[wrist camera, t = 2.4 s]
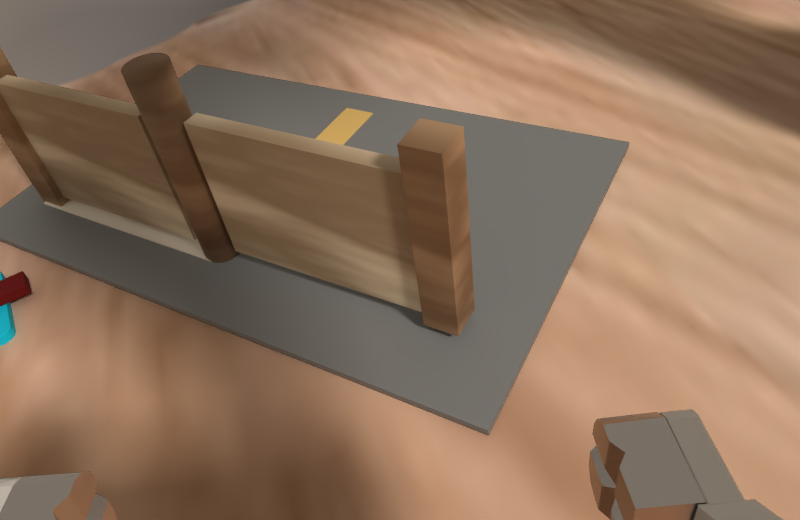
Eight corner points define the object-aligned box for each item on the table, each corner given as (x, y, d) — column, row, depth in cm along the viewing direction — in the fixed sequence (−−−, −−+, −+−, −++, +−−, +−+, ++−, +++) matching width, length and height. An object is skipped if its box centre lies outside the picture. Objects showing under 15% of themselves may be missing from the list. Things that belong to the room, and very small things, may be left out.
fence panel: (251, 238, 40) (189, 74, 33) (474, 308, 34) (463, 126, 26) (231, 260, 39) (162, 94, 31) (458, 336, 33) (442, 153, 25)
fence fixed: (70, 188, 49) (-31, 19, 40) (252, 246, 41) (179, 56, 32) (44, 207, 47) (-66, 37, 38) (228, 271, 40) (145, 80, 31)
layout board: (199, 68, 60) (197, 63, 60) (628, 147, 44) (629, 141, 44) (-24, 231, 46) (-28, 226, 46) (488, 435, 30) (488, 429, 30)
